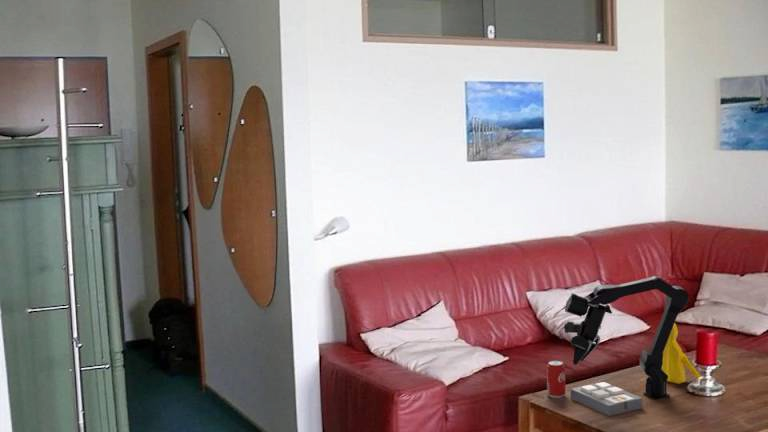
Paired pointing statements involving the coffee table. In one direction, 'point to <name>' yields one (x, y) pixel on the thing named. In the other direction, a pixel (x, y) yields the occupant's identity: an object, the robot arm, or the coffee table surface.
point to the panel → (608, 401)
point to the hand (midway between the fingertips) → (577, 362)
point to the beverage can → (555, 379)
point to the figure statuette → (676, 360)
